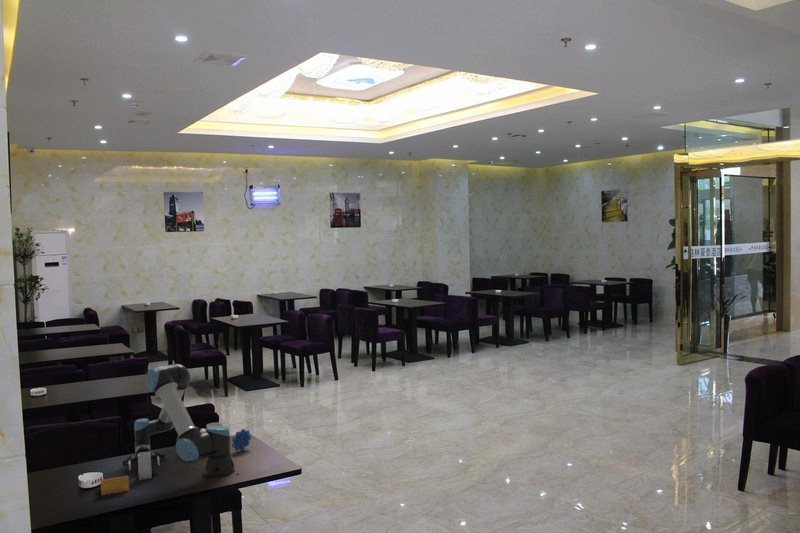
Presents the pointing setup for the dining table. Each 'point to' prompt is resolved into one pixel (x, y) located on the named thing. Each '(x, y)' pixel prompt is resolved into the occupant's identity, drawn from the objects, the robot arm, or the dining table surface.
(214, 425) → the mug
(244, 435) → the grapes
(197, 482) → the dining table surface
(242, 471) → the dining table surface
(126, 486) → the orange rectangular block
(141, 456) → the aluminium block
